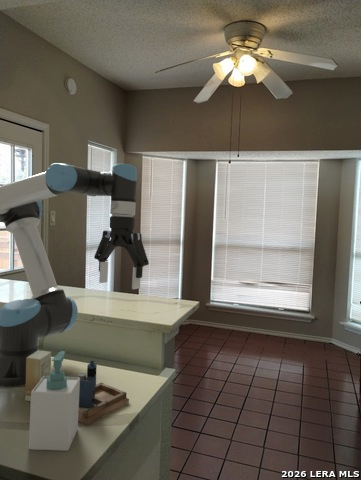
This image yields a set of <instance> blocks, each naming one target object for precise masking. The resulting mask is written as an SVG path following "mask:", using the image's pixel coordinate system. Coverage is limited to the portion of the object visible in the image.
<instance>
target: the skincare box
mask: <svg viewBox="0 0 361 480" xmlns="http://www.w3.org/2000/svg"><path fill="white" fill-rule="evenodd" d="M51 367H52V351H47V350H39V349H38V350H37V351H36V352H34V353H33V354H31V355H30V356H28V357H27V358H26V385H25V388H24V389H25V390H24V392H25V395H24V396H25V397H24V401H27V402H31V391H32V390H33V389H34V388H35V386H36V385H37V384H38V383H39V381H40V380H41V379H42V378H43V376H50V374H51V372H52V371H51V369H52V368H51Z"/></svg>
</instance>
